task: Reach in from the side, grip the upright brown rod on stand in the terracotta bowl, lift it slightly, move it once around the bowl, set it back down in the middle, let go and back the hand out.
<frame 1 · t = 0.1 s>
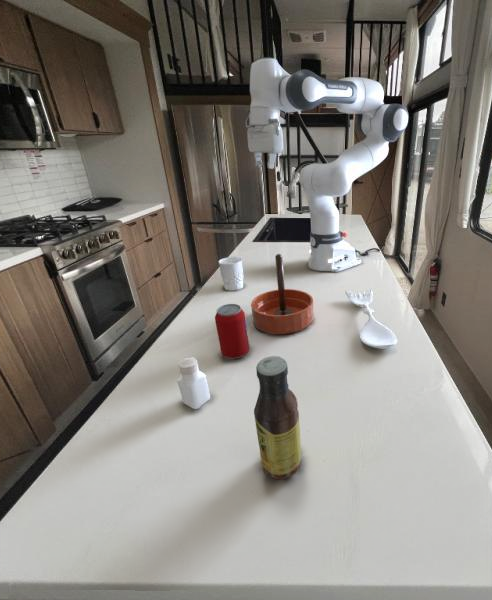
hand: (264, 167, 106), 39 cm above the table, tool pointing down, fingers open, 8 cm apart
pepper shaker: (197, 402, 64), on the table
brown rod on stand: (283, 317, 93), point 1 cm above the table, touching bowl
white cup: (234, 287, 116), on the table
spoon: (368, 322, 91), on the table
beverage can: (236, 353, 79), on the table
bowl: (283, 320, 93), on the table
sauce bottle: (282, 465, 51), on the table
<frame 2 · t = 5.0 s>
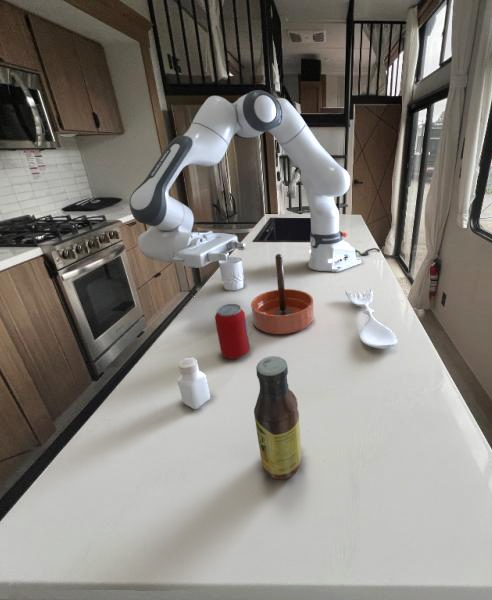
hand: (236, 251, 88), 20 cm above the table, tool horizontal, fingers open, 8 cm apart
nothing on the table moved.
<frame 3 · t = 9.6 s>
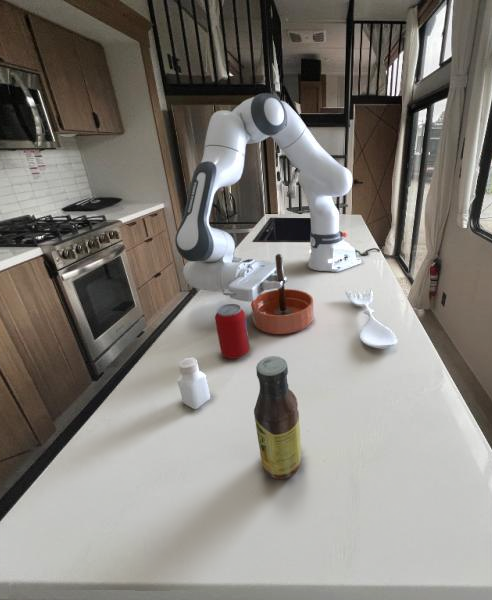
hand: (283, 282, 88), 12 cm above the table, tool horizontal, fingers closed on brown rod on stand
brown rod on stand: (283, 317, 93), point 1 cm above the table, touching bowl, gripper
everything else where it was.
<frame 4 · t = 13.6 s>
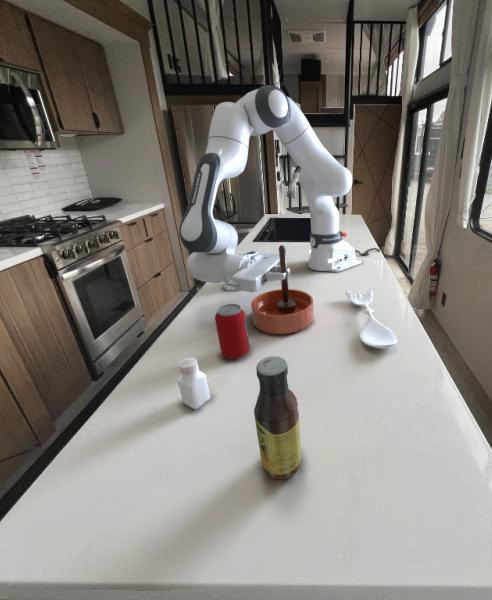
hand: (287, 274, 88), 14 cm above the table, tool horizontal, fingers closed on brown rod on stand
brown rod on stand: (286, 309, 93), point 3 cm above the table, touching gripper
everything else where it was.
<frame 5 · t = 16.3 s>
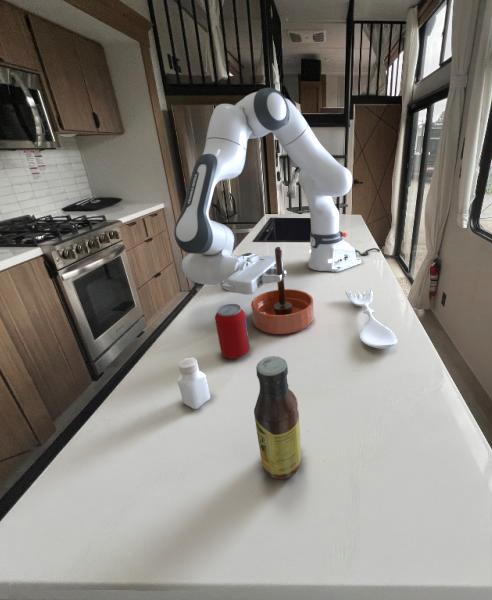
hand: (283, 275, 87), 14 cm above the table, tool horizontal, fingers closed on brown rod on stand, 2 cm apart
brown rod on stand: (283, 311, 92), point 3 cm above the table, touching gripper
everything else where it was.
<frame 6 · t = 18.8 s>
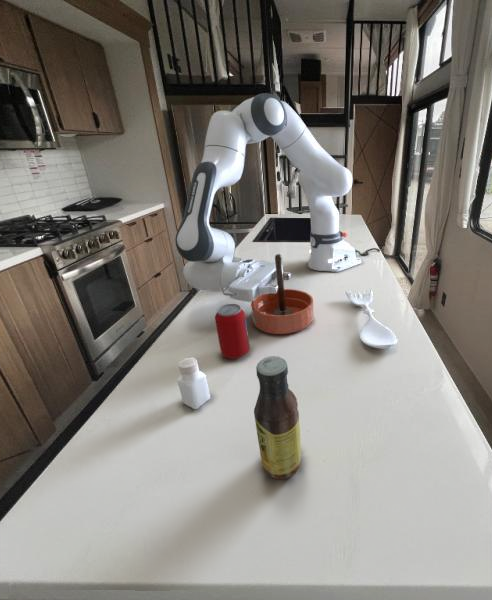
hand: (283, 282, 88), 12 cm above the table, tool horizontal, fingers open, 8 cm apart
brown rod on stand: (283, 317, 93), point 1 cm above the table, touching bowl
everything else where it was.
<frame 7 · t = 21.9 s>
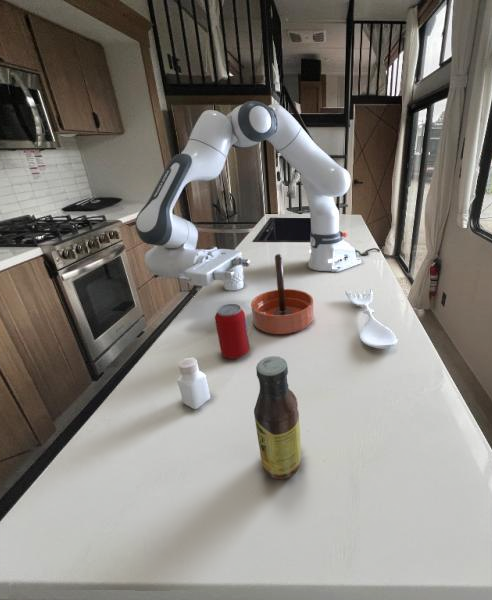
hand: (241, 268, 90), 15 cm above the table, tool horizontal, fingers open, 8 cm apart
nothing on the table moved.
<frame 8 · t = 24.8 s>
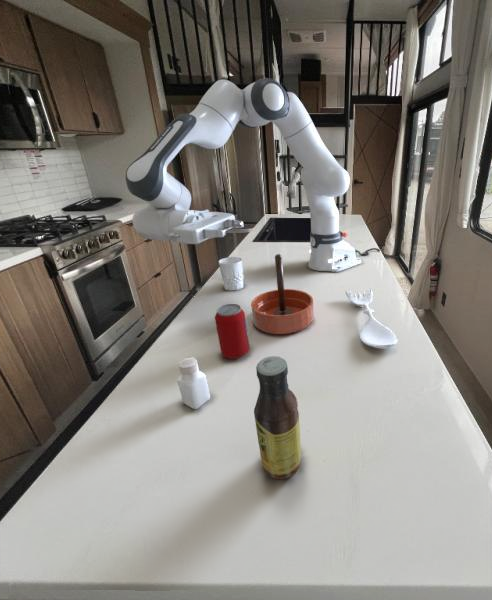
hand: (233, 228, 85), 26 cm above the table, tool horizontal, fingers open, 8 cm apart
nothing on the table moved.
at the end: brown rod on stand inside the target area in the bowl (0.1 cm from its centre), point 0.8 cm above the bowl's base; brown rod on stand tilted 0°; the gripper is holding nothing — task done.
